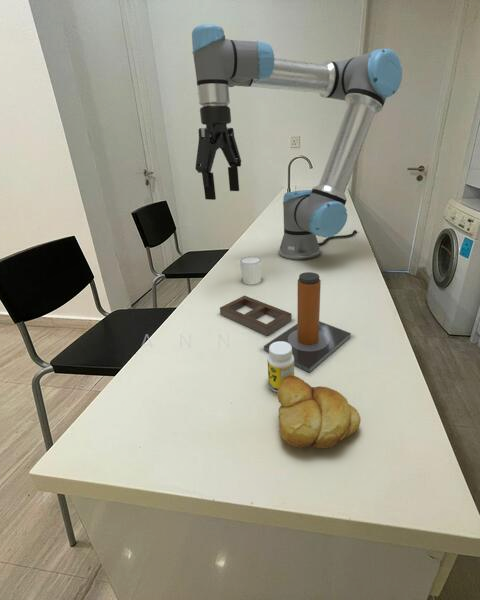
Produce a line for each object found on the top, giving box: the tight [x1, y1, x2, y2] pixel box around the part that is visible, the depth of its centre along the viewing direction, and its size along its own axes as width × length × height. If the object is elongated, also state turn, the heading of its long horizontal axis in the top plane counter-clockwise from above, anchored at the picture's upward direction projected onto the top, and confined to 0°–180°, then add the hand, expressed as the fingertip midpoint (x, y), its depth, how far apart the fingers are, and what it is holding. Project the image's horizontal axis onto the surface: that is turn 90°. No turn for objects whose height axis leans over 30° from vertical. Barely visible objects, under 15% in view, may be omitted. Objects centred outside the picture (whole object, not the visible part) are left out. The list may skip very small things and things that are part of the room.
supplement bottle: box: [267, 341, 295, 393], centre depth 59 cm, size 5×5×8 cm
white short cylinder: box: [239, 256, 263, 286], centre depth 103 cm, size 7×7×7 cm
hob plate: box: [263, 320, 352, 373], centre depth 73 cm, size 16×12×1 cm
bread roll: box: [276, 375, 362, 449], centre depth 50 cm, size 13×10×8 cm
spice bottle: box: [297, 271, 322, 345], centre depth 69 cm, size 5×5×15 cm
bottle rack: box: [219, 295, 293, 337], centre depth 83 cm, size 9×16×2 cm, turn 49°
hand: (223, 195), depth 91 cm, fingers open, 13 cm apart
